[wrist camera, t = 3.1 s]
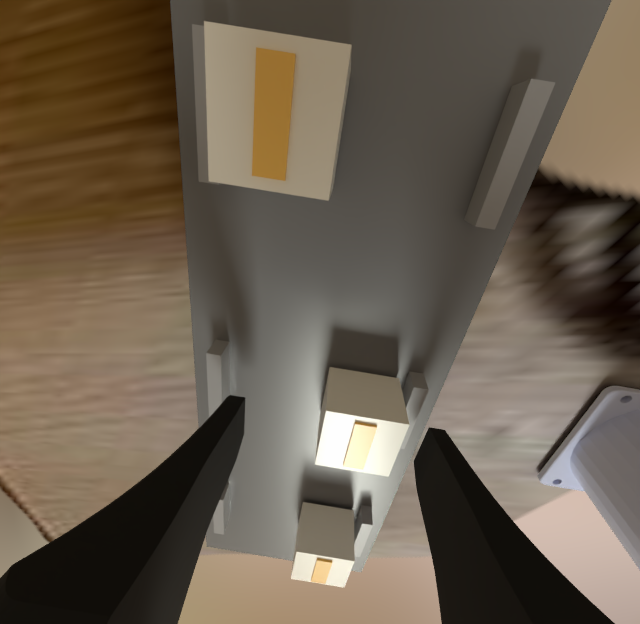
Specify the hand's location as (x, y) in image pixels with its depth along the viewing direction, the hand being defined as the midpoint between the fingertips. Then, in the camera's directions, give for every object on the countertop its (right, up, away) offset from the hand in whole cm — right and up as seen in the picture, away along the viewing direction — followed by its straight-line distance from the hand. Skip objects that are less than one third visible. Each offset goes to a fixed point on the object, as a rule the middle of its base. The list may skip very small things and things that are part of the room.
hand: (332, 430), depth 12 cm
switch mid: (+1, +1, +2) cm, 2 cm away
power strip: (-1, +3, +5) cm, 5 cm away
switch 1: (-1, +10, -3) cm, 11 cm away
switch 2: (0, -8, +6) cm, 10 cm away
